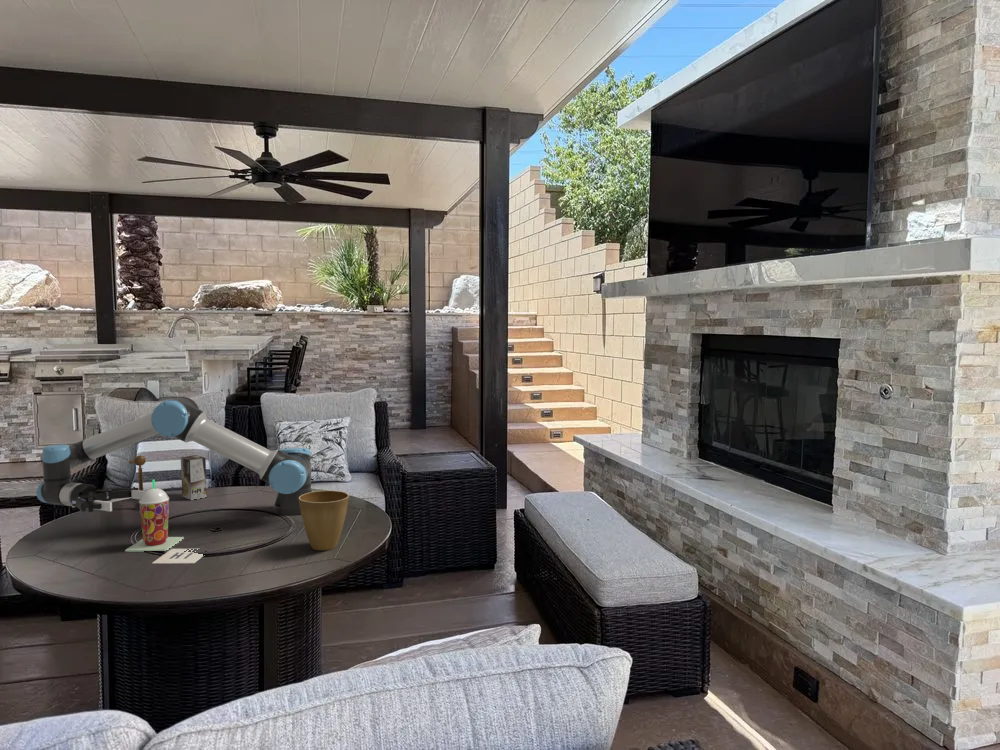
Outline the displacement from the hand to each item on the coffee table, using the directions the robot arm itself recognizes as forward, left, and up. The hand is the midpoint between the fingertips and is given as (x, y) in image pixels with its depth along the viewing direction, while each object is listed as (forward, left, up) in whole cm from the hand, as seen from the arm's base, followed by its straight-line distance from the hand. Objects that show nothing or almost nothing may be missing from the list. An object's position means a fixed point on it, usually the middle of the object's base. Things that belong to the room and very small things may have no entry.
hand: (130, 501), depth 206 cm
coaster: (-9, +3, -13) cm, 16 cm away
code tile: (-22, +13, -13) cm, 29 cm away
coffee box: (+4, -54, -13) cm, 55 cm away
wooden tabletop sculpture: (+17, -38, -13) cm, 43 cm away
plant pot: (-62, +5, -13) cm, 64 cm away
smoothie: (-9, +3, -13) cm, 16 cm away
